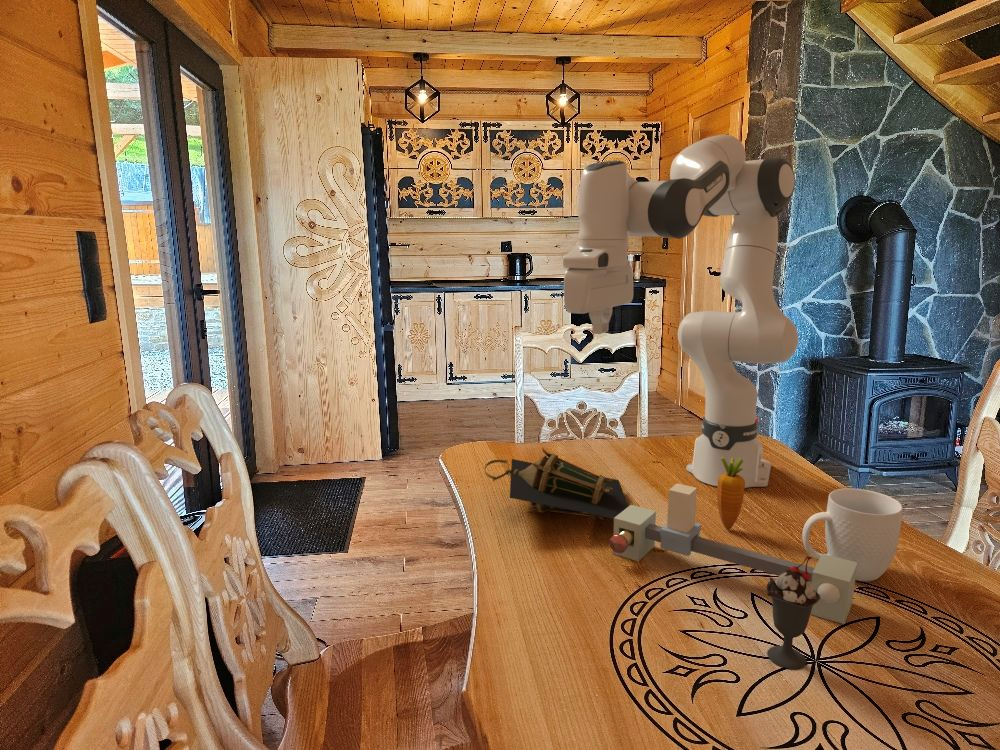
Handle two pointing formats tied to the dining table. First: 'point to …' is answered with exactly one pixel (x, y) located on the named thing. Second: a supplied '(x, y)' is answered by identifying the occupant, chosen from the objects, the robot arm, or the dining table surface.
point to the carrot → (730, 493)
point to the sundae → (791, 613)
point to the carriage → (680, 520)
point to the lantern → (563, 487)
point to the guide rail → (751, 562)
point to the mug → (859, 530)
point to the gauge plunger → (621, 541)
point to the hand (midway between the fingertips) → (600, 333)
